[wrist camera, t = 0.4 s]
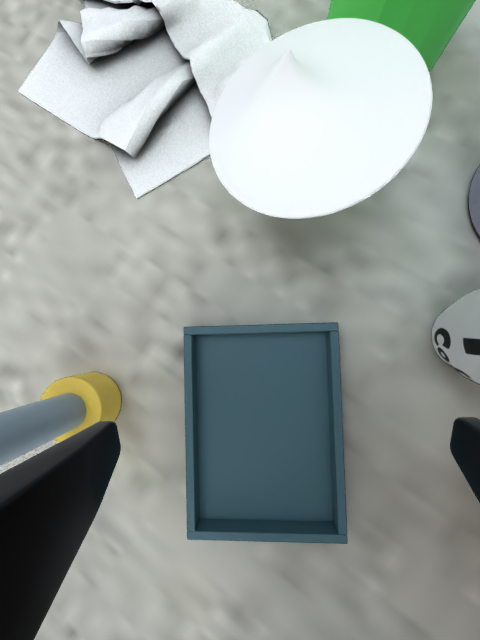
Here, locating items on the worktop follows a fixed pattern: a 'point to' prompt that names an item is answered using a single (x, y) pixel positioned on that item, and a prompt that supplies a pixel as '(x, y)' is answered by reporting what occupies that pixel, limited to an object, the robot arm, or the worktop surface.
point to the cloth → (146, 78)
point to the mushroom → (320, 118)
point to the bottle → (410, 20)
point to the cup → (460, 336)
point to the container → (475, 200)
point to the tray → (264, 433)
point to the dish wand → (58, 413)
